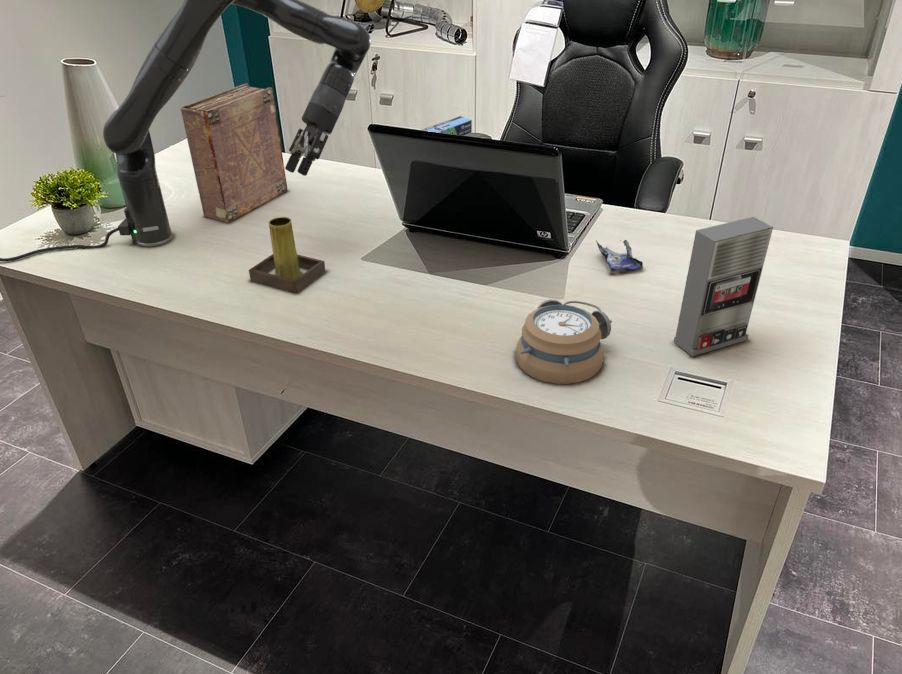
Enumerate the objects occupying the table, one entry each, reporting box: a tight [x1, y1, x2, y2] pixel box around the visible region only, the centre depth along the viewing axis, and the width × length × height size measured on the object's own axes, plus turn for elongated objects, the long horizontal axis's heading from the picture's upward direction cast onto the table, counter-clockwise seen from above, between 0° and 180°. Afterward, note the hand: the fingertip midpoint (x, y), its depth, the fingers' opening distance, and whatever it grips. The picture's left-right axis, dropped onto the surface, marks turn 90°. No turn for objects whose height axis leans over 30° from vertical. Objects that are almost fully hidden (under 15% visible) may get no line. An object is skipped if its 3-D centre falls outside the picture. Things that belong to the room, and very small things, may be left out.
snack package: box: [595, 239, 644, 275], centre depth 183 cm, size 12×6×12 cm
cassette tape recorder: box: [673, 216, 774, 357], centre depth 148 cm, size 14×6×25 cm, turn 114°
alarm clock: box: [515, 299, 613, 385], centre depth 152 cm, size 17×9×23 cm
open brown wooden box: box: [248, 253, 327, 294], centre depth 182 cm, size 14×12×3 cm
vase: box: [268, 216, 302, 280], centre depth 179 cm, size 6×6×14 cm
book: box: [180, 82, 288, 224], centre depth 210 cm, size 25×9×30 cm, turn 150°
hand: (295, 172), depth 179 cm, fingers open, 8 cm apart
